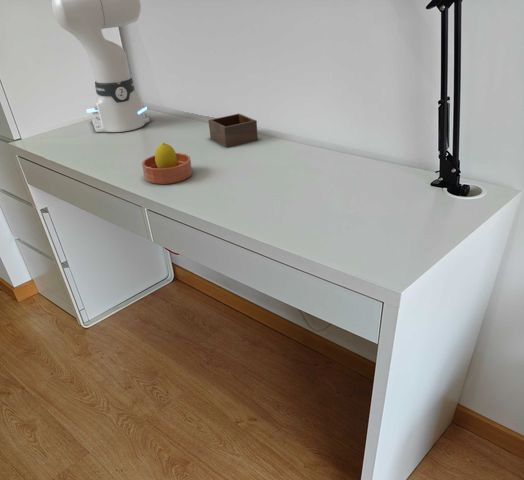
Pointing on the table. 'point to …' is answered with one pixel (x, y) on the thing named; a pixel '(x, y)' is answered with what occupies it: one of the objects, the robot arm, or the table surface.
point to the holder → (233, 130)
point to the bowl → (167, 170)
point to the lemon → (165, 156)
